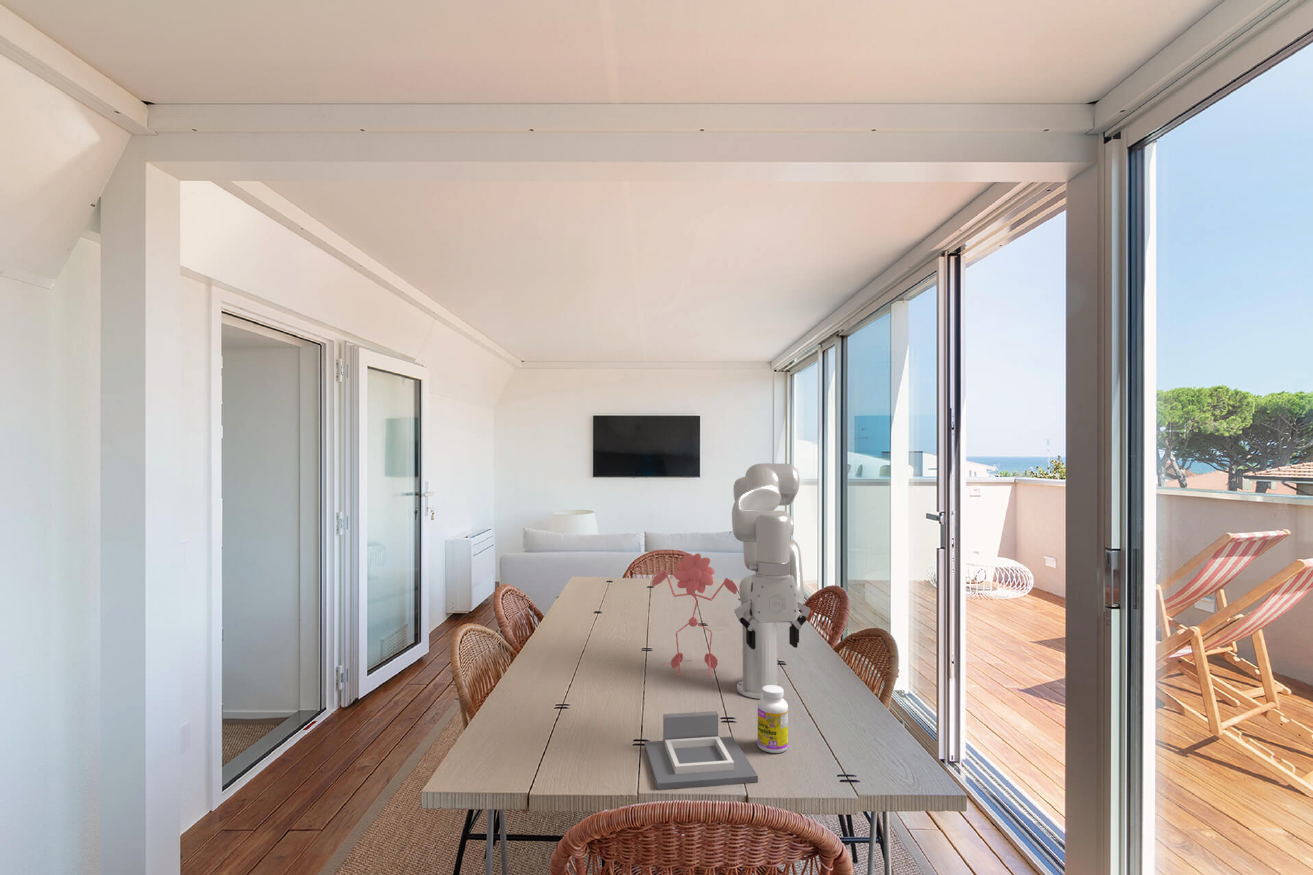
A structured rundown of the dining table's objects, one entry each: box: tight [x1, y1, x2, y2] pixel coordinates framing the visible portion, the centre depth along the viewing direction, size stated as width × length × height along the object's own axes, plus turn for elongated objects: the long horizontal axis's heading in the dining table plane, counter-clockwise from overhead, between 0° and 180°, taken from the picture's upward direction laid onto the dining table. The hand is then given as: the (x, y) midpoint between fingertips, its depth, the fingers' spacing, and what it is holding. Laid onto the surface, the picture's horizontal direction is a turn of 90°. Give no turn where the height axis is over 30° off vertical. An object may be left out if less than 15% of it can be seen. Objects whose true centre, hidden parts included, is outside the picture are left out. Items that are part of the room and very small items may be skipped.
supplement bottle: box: [757, 685, 789, 754], centre depth 138 cm, size 7×7×13 cm
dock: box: [644, 710, 759, 791], centre depth 131 cm, size 18×20×7 cm
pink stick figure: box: [651, 553, 738, 677], centre depth 192 cm, size 15×26×35 cm, turn 89°
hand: (772, 646), depth 139 cm, fingers open, 9 cm apart
